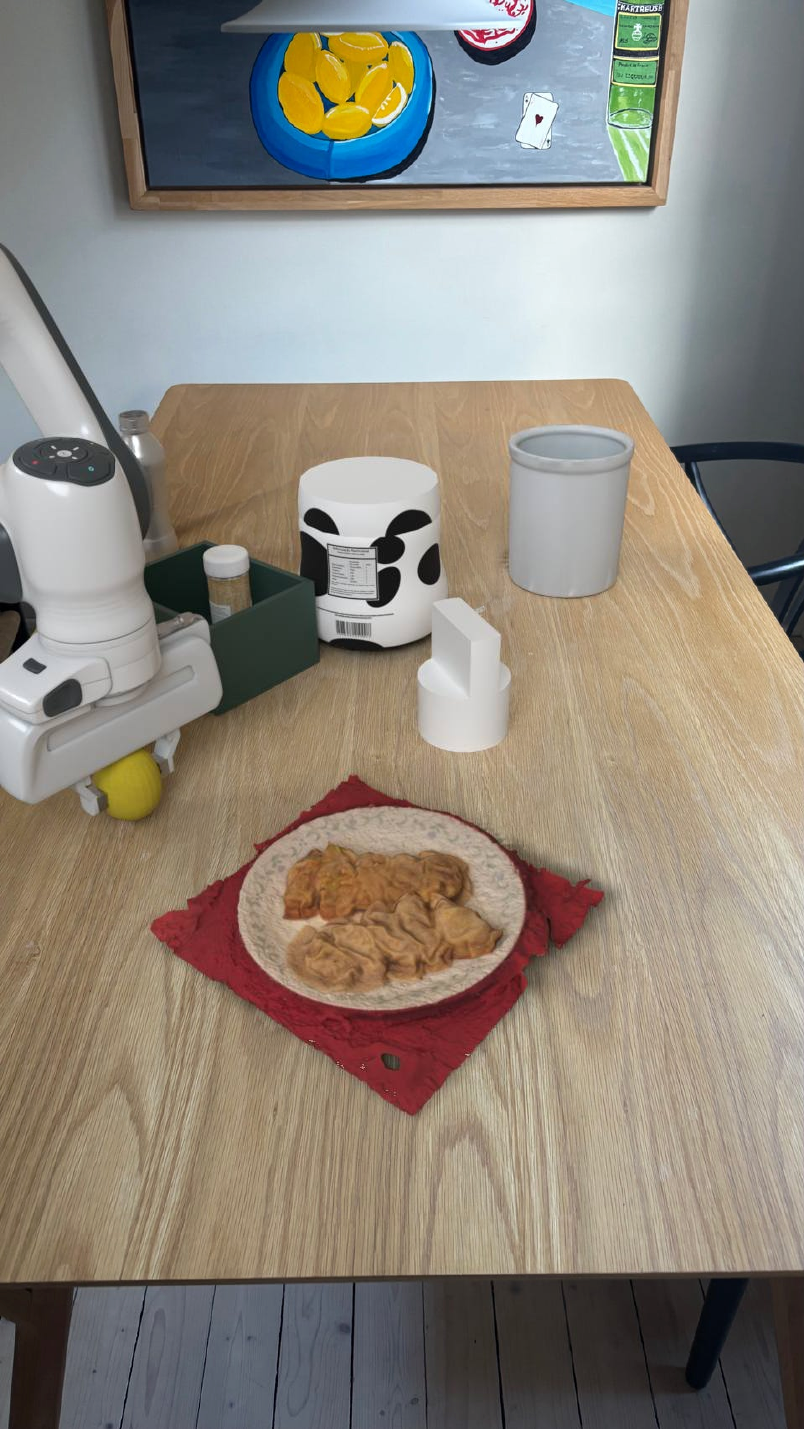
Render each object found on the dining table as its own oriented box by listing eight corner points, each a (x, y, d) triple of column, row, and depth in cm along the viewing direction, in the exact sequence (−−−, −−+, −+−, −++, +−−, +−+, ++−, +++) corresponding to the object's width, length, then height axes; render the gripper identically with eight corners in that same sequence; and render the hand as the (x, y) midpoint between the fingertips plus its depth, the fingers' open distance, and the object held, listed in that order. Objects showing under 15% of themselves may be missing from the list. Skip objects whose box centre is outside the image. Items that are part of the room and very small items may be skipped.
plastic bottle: (123, 575, 133) (96, 421, 122) (143, 554, 139) (118, 405, 128) (170, 578, 132) (147, 423, 121) (188, 556, 138) (168, 407, 127)
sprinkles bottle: (265, 671, 110) (254, 555, 103) (225, 681, 108) (210, 564, 101) (250, 653, 113) (238, 539, 106) (211, 663, 112) (196, 548, 104)
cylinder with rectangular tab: (403, 714, 104) (401, 608, 97) (482, 695, 107) (486, 590, 100) (441, 761, 97) (442, 649, 90) (524, 739, 100) (531, 629, 93)
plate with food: (354, 790, 93) (352, 759, 91) (604, 906, 79) (606, 872, 77) (148, 942, 78) (140, 908, 76) (411, 1119, 64) (409, 1083, 62)
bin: (113, 662, 114) (98, 581, 108) (214, 616, 123) (205, 539, 118) (218, 717, 104) (207, 631, 98) (319, 662, 113) (314, 580, 108)
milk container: (407, 585, 129) (406, 444, 120) (474, 643, 116) (478, 491, 106) (277, 613, 123) (265, 467, 113) (332, 678, 110) (323, 520, 100)
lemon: (145, 793, 93) (131, 718, 89) (180, 819, 90) (167, 743, 85) (91, 820, 90) (74, 744, 86) (124, 848, 86) (109, 771, 82)
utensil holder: (485, 561, 135) (490, 429, 126) (587, 546, 139) (599, 416, 130) (531, 608, 123) (540, 466, 114) (641, 590, 127) (658, 451, 118)
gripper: (180, 594, 89) (199, 727, 96) (-37, 687, 76) (4, 833, 83) (229, 615, 86) (244, 751, 93) (9, 717, 73) (48, 866, 80)
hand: (129, 791), depth 88 cm, fingers closed on lemon, 5 cm apart
